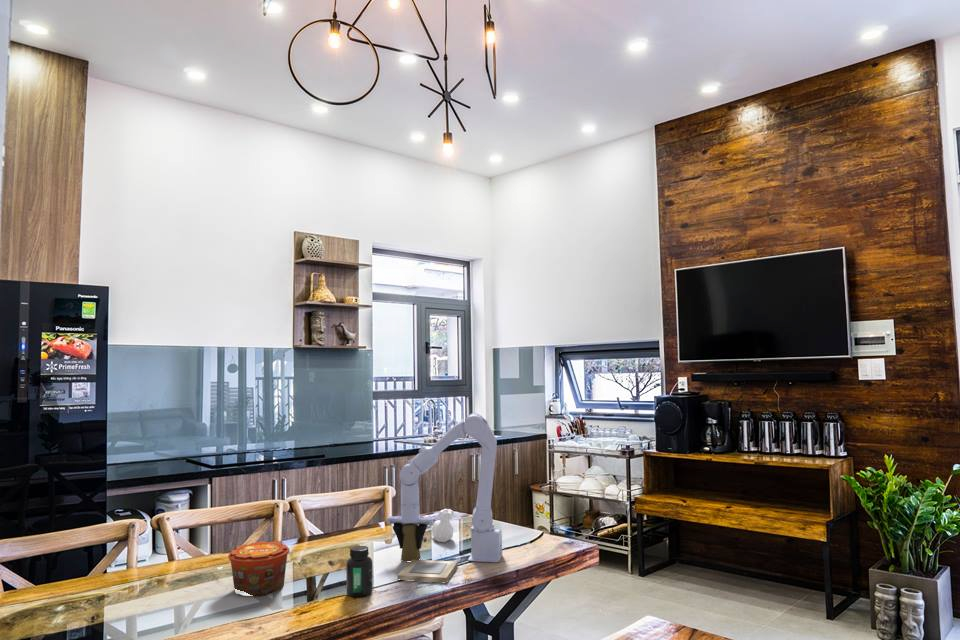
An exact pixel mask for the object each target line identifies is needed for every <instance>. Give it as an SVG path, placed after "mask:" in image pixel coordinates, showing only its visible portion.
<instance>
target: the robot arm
mask: <svg viewBox="0 0 960 640" xmlns="http://www.w3.org/2000/svg"><path fill="white" fill-rule="evenodd" d="M467 435H468V436H469V437H471V438H473V439H474V440H476V442H477V443H478V444H479V445H480V446H481V454H480V455H481V456H480V466H479V475H478V476H479V477H478V485H477V487H478V488H477V496H476V503H475V506H474V508H473V510H472V517H471V523H472V526H471V527H470V541H471V542H470V545H471V546H470V548H471V551H470V552H471V554H470V556H469V557H468V559H467V560H468V562H482V563H499V562H500V560H501V558H502V557H503V533H502V529H497V528H495V525H493V523H494V519H493V509H492V499H493V498H492V496H493V488H494V487H493V484H494V476H495V466H496V465H495V464H496V456H497V444H498V441H497V437H496V435H495V434H494V432H493V431H492V428H491V426H490V424H489V422H488V421H487V419H485V418H484V417H483V416H482V415H480V414H479V413H475V412H473V413H472V412H471V413H470V414H468V415H466V417H465V418H463V419H461V420H460V421H458V422H457V423H456V424H455V425H453V426H452V427H451V428H450V429H449V430H448V431H447V432H445V434H444V435H443V436H442V437H441V438H440V439H439V440H438V441H437V442H436V443H434V445H432V446H425V447H424V448H423V447H421V448H420V449H419V450H418V453H417V454H416V455H415V456H414V457H413V458H410V459H408V461H407V464H405V465H404V466H403V467H401V470H400V471H399V480H400V515H395V516H392V515H391V516H387V517H386V525H393V526H392V530H393V532H394V534H395V537H396V538H397V541H398V546H399V549H401V550H402V546H403V537H404V534H403V532H402V526H403V525H404V524H406V523H412V524H416V525H418V526H417V527H416V532H417V549H419V550H420V549H422V546H423V539H424V537H425V533H426V531H427V528H428V526H431V527H433V525H434V523H435V522H434V520H435V518H434V517H428V516H421V515H420V488H419V478H420V475H424V474H426V473H427V471H428V470H429V469H430V468H432V467H433V466H434V465H435V464H436V463H437V462H438V461H439V454H441V453H442V452H443V451H445V450H446V449H447V448H448V447H449V446H450V445H451V444H453V442H455V441H456V440H458V439H462V438H463V439H464V438H467Z"/></svg>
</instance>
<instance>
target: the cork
mask: <svg viewBox="0 0 960 640" xmlns="http://www.w3.org/2000/svg"><path fill="white" fill-rule="evenodd" d="M417 526H418V525H416V524H412V523H406V524H404V525H403V526H402V532H403V534H404V537H403V546H402V549H401V555H400V556H401V557H400V560H403V561H411V560H419V559H420V558H421V552H420V549H417V532H416V527H417ZM420 560H421V559H420ZM403 561H402V562H403Z"/></svg>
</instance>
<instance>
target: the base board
mask: <svg viewBox="0 0 960 640" xmlns="http://www.w3.org/2000/svg"><path fill="white" fill-rule="evenodd" d="M458 564H459V561H453V560H452V561H451V560H447V561H446V560H431V559H430V560H427V559H420V560H411V562H408V563H407V564H406V566H405V567H404V568H403V569H402V570H401V571H400V572H399V573H398V574H397V580H398V579H400V580H414V581H425V582H424V583H432V582H445V583H444V584H447V583H448V582H447V581H449V580H450V579H451V578H452V576H453V574H454V573H455V572H456V570H457V569H458V567H459V565H458ZM457 566H458V567H457ZM456 568H457V569H456ZM451 575H452V576H451ZM449 578H450V579H449Z"/></svg>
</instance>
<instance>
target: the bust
mask: <svg viewBox="0 0 960 640" xmlns="http://www.w3.org/2000/svg"><path fill="white" fill-rule="evenodd" d="M454 515H455V512H454V510H452V509H451V508H444V509H441V510H440V511H439V513H438V517H439V519H438V520H435V522H434V524H433V525H432V526H431V527H432V528H431V534H432V536H433V540H434V541H437V542H438V543H445V544H446V542H448V541H449V540H451V539H453V537H454V531H455V530H454V526H453V524H452V523H451V521H450V520H452V519H453V518H454Z"/></svg>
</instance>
